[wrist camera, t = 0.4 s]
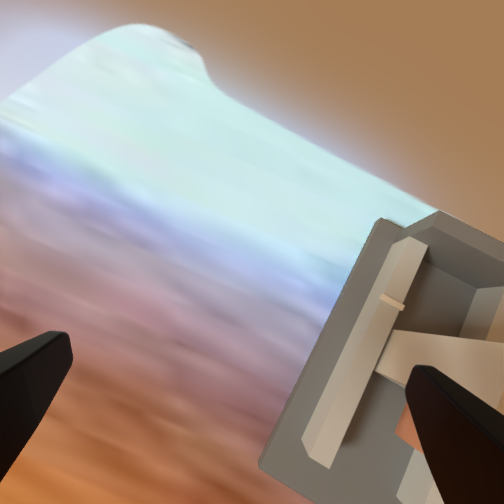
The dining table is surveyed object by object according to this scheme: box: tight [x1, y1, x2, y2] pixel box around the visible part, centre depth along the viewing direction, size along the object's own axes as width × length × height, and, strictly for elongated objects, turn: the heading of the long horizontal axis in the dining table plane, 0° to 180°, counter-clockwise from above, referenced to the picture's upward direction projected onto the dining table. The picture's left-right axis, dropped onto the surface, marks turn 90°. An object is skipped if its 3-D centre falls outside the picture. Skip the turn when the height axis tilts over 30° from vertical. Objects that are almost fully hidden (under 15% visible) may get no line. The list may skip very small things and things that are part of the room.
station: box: [258, 210, 504, 504], centre depth 19 cm, size 20×12×6 cm, turn 151°
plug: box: [373, 329, 504, 454], centre depth 15 cm, size 6×5×11 cm
